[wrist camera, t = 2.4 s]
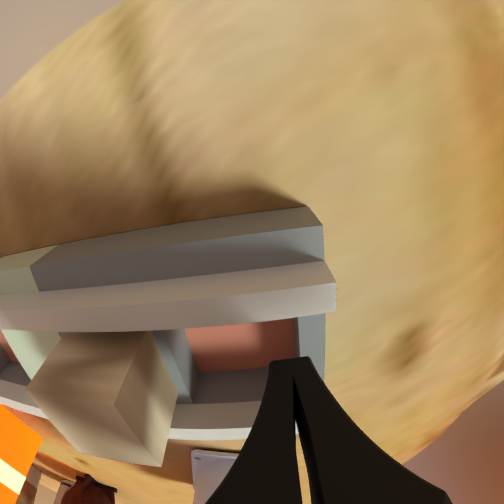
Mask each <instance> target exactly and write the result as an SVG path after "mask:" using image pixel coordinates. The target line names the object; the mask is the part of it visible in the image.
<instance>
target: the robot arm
mask: <svg viewBox="0 0 504 504" xmlns="http://www.w3.org/2000/svg"><path fill="white" fill-rule="evenodd" d="M295 420H296V424H297V429H298V433H299V437H300V442H301V446H302V450H303V454H304V459H305V463H306V467H307V472H308V478H309V486H310V495H311V504H452V502H451V500H450V498H449V497H448V495H447V493H446V492H445V491H444V490H442V489H440V488H438V487H436V486H434V485H432V484H431V483H429V482H427V481H425V480H424V479H422V478H420V477H419V476H417V475H416V474H414V473H412V472H411V471H409V470H408V469H406V468H405V467H404V466H402V465H401V464H400V463H398V462H397V461H396V460H394V459H393V458H392V457H391V456H389V455H388V454H387V453H385V452H384V451H383V450H382V449H381V448H380V447H378V446H377V445H376V444H375V443H374V442H373V441H372V440H371V439H370V438H369V437H368V436H367V435H366V434H365V433H364V432H363V431H362V430H361V429H360V428H359V427H358V426H357V425H356V424H355V423H354V422H353V420H352V419H351V418H350V417H349V416H348V415H347V413H346V412H345V411H344V410H343V408H342V407H341V406H340V405H339V403H338V402H337V401H336V399H335V398H334V396H333V395H332V394H331V392H330V391H329V390H328V388H327V387H326V385H325V383H324V382H323V380H322V379H321V377H320V375H319V374H318V372H317V370H316V368H315V366H314V364H313V362H312V360H311V358H310V357H308V356H304V357H297V358H290V359H282V360H273V361H271V362H270V363H269V371H268V378H267V383H266V387H265V391H264V395H263V398H262V401H261V405H260V408H259V411H258V413H257V416H256V418H255V421H254V423H253V426H252V428H251V431H250V433H249V435H248V437H247V439H246V442H245V444H244V446H243V447H242V449H241V451H240V453H239V454H237V453H225V452H215V451H206V450H199V449H194V450H192V451H191V462H192V475H193V487H194V490H195V492H194V500H193V504H302V496H301V488H300V480H299V472H298V464H297V456H296V426H295Z"/></svg>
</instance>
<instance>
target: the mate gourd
mask: <svg viewBox="0 0 504 504" xmlns="http://www.w3.org/2000/svg"><path fill="white" fill-rule="evenodd" d="M84 477H85V478H86V479H85V478H82V477H79V476H76V479H77V481H76V483H75V484H74V485H73V487H71V488H70V489H69V490H67V492H66V493H65V494H64V495H63V497H62V500H61V504H115V497H114V492H116V493H117V489H116V488H113V487H110V486H106V485H103V484H100V483H98V482H96V481H95V480H94V479H93V478H92V477H91V476H90V475H89V474H85V475H84Z"/></svg>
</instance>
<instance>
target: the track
mask: <svg viewBox="0 0 504 504" xmlns="http://www.w3.org/2000/svg"><path fill="white" fill-rule="evenodd" d="M329 312H336V281H335V279H334V277H333V275H332V274H331V272H330V270H329V268H328V266H327V264H326V263H325V261H324V239H323V225H322V224H321V222H320V221H319V220H318V218H317V217H316V216H315V214H314V213H313V212H312V211H311V209H310V208H309V207H308V206H306V207H297V208H288V209H280V210H272V211H263V212H256V213H248V214H240V215H233V216H225V217H218V218H211V219H204V220H197V221H191V222H184V223H178V224H171V225H165V226H159V227H152V228H146V229H140V230H134V231H129V232H123V233H117V234H112V235H106V236H101V237H95V238H90V239H85V240H79V241H74V242H69V243H64V244H59V245H54V246H49V247H44V248H40V249H35V250H30V251H26V252H21V253H17V254H12V255H8V256H3V257H0V404H3V405H5V406H8V407H11V408H14V409H16V410H19V411H22V412H26V413H29V414H32V415H35V416H39V417H42V418H46V419H48V418H47V417H46V415H45V414H44V413H43V412H42V411H41V409H40V408H39V407H38V406H37V404H36V403H35V402H34V400H33V399H32V398H31V396H30V395H29V394H28V392H27V391H26V390H25V389H26V388H27V386H28V385H29V383H30V382H31V380H32V379H33V377H34V376H35V374H36V373H37V371H38V370H39V368H40V367H41V366H42V364H43V363H44V361H45V360H46V359H47V357H48V356H49V354H50V353H51V352H52V350H53V349H54V348H55V346H56V345H57V343H58V342H59V341H60V339H61V338H62V337H63V335H64V334H65V333H66V332H125V331H152V333H153V336H154V339H155V341H156V344H157V346H158V349H159V351H160V353H161V356H162V358H163V361H164V363H165V365H166V368H167V370H168V372H169V375H170V377H171V379H172V381H173V384H174V386H175V388H176V390H177V392H178V396H177V400H176V404H175V409H174V413H173V417H172V422H171V426H170V431H169V435H168V439H181V440H237V439H247V437H248V435H249V433H250V431H251V428H252V426H253V423H254V421H255V418H256V416H257V413H258V411H259V408H260V405H261V401H262V398H263V395H264V391H265V387H266V383H267V378H268V371H269V363H270V362H271V361H273V360H282V359H290V358H297V357H304V356H308V357H310V358H311V360H312V362H313V364H314V366H315V368H316V370H317V372H318V374H319V375H320V377H321V379H322V380H323V382H324V366H325V313H329ZM295 426H296V434H299V433H298V429H297V424H296V420H295Z"/></svg>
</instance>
